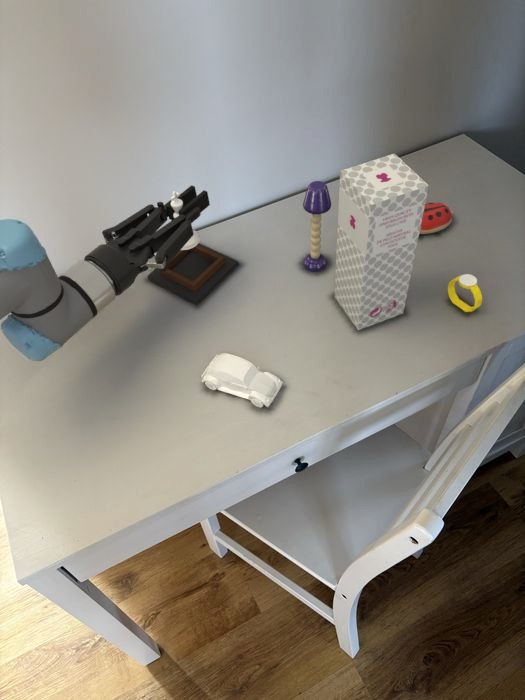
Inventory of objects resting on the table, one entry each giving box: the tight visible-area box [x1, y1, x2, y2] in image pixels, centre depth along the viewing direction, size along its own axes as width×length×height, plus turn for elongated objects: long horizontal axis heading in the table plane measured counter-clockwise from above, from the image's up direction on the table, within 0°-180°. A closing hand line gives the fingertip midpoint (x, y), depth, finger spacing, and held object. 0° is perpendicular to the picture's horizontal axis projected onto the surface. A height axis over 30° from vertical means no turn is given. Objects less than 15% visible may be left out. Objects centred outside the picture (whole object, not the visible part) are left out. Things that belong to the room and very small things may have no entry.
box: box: [334, 153, 430, 331], centre depth 81 cm, size 8×8×25 cm
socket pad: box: [147, 242, 240, 306], centre depth 98 cm, size 12×12×2 cm
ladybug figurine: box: [419, 202, 454, 235], centre depth 101 cm, size 7×10×4 cm
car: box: [200, 352, 284, 408], centre depth 81 cm, size 12×6×5 cm, turn 61°
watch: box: [447, 273, 483, 313], centre depth 87 cm, size 6×3×6 cm, turn 34°
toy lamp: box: [302, 180, 332, 272], centre depth 92 cm, size 5×5×17 cm
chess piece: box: [170, 190, 201, 250], centre depth 89 cm, size 5×5×10 cm
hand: (200, 195), depth 91 cm, fingers closed on chess piece, 2 cm apart
